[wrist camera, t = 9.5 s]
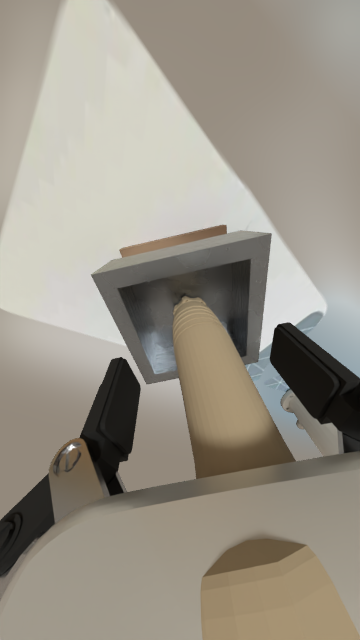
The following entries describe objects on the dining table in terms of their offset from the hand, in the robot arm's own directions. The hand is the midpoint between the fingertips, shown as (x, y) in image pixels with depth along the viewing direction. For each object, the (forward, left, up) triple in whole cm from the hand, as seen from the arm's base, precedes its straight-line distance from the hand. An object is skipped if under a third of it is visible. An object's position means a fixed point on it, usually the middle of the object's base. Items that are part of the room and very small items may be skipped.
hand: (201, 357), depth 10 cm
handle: (0, 0, -7) cm, 7 cm away
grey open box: (0, 0, -8) cm, 8 cm away
